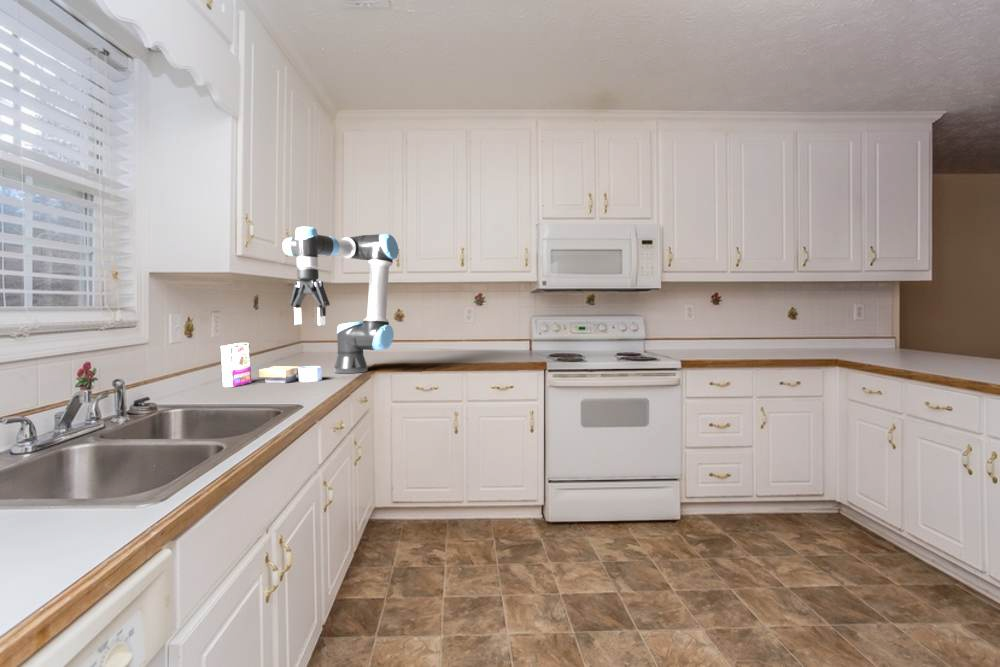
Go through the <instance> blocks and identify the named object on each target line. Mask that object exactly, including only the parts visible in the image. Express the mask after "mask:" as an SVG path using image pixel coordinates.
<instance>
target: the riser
mask: <svg viewBox="0 0 1000 667" xmlns="http://www.w3.org/2000/svg"><path fill="white" fill-rule="evenodd" d="M294 381H297V375H294V376H290V377H286V378H283V377H264V382H265V383H269V384H271V383H272V384H273V383H274V384H275V383H276V384H286V383H289V382H294Z"/></svg>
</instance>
